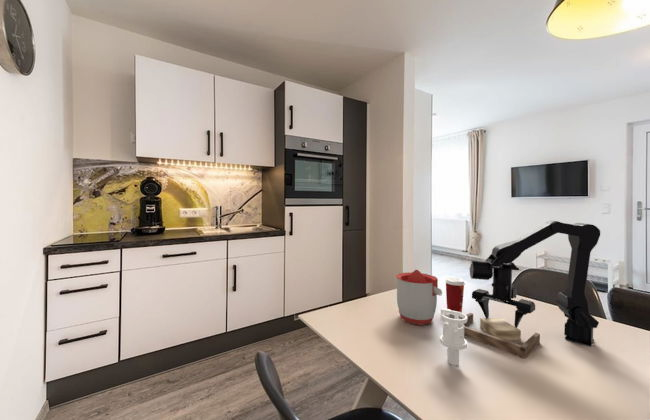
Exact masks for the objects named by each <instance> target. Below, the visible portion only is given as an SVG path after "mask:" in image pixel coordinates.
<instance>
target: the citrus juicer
mask: <svg viewBox="0 0 650 420" xmlns="http://www.w3.org/2000/svg"><path fill="white" fill-rule="evenodd" d="M438 282H439V280H438V278H437V277H436V276H434V275H431V274H427V273H421V271H419V270H418V269H415V270H414V271H412V272H401V273H398V274H396V302H397V308H398V312H399V316H400V317H401V319H402V320H403V321H404V320H405V321H404V322H406V323H409V324H411V325H420V326H424V325H429V324H431V323H432V321H433V319H434V317H435V313H436V309H437V304H438V302H437V301H438V296H440V297H441V296H443V291H442V289H441V288H439V287H438V284H439V283H438Z"/></svg>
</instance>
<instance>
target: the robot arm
mask: <svg viewBox="0 0 650 420" xmlns="http://www.w3.org/2000/svg"><path fill="white" fill-rule="evenodd" d="M556 234H561V235H562V234H564V235H567V237H568V238H567V239H568V243H569V246H570V247H571V253H570V259H569V260H570V261H569V268H568V273H567V274H568V275H567V282H566V288H565V290H564V291H563V292H560V291H557V300H556V301H555V303H556V304H557V307H558V309H559V310H560V311H561V312H562V313H563V315H564V317H566V318H567V319H566V322H564V329H563V330H564V333H563V334H564V336H565V337H564V339H565V340H566V341H567V340H568V341H571V342H574V343H578V344H581V345H584V346H587V347H592V346H593V344H594V342H595V339H594V329H596V328H598V325H599V323H600V322H599V321H598V319H596V317H594V316H593V315H591V313H590V305H589V301H588V299H587V295H586V289H587V281H588V280H587V279H588V276H589V275H588V273H589V267H590V259H591V252H592V251H593V249H594V248H595V247H596V246H597V245H598V243H599V239H600V237H601V229H599V228H598V226H596V225H594V224H592V223H584V222H583V223H582V222H576V223H566V222H561V221H558V220H557V221H556V220H549V221H546V222H545V223H544V224H542V225H540V226H539V227H537V228H535V229H533V230H532V231H530V232H527V233H526V234H524V235H522V236H520V237H519V238H517V239H515V240H512V241H509V242H504V243H502V244H498V245H496V246H494V247H493V248H492V251H491V254H490V255H489V256H488V257H487V258H486V259H485V261H482V260H476V259H472V260H471V263H470V267H469V277H470V279H471V280H483V281H484V280H485V281H489V280H490V279H492V283H491V287H492V294H490V291H489V290H485V289H481V288H478V289H475V290H473V291H472V292H471V299H473V300H474V301H475V302H476V303H477V304H478V305H479V307H480V308H481V310H482V314H484V317H485V318H490V310H489V309H490V307H489V303H490V301H495V302H498V303H502V304H506V305H510V306H512V307H515V308H516V310H515V311H514V312H515V313H514V325H513V326H514V327H516V328H517V329H518V327H519V325H520V323H521V321H522V319H523V316H525V315H528V314H532V313H533V312H535V311H536V303H535V302H534V301H533V300H532V301H531V300H527V299H523V298H521V299H519V300H514V299H516V298H517V294H518V290H517V289H516V288H514V285H513V284H514V283H512V282H513V271H519V270H520V268H519V267H518V266H517V265H516V263H514V261H516V260H517V259H518V258H519V257H520V256H521V255H522V253H523V252H525V251H526V250H528V249H530V248H533V247H534V246H535V245H537V244H539V243H541V242H543V241H545V240H546V239H549V238H551V237H552V236H554V235H556Z"/></svg>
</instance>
